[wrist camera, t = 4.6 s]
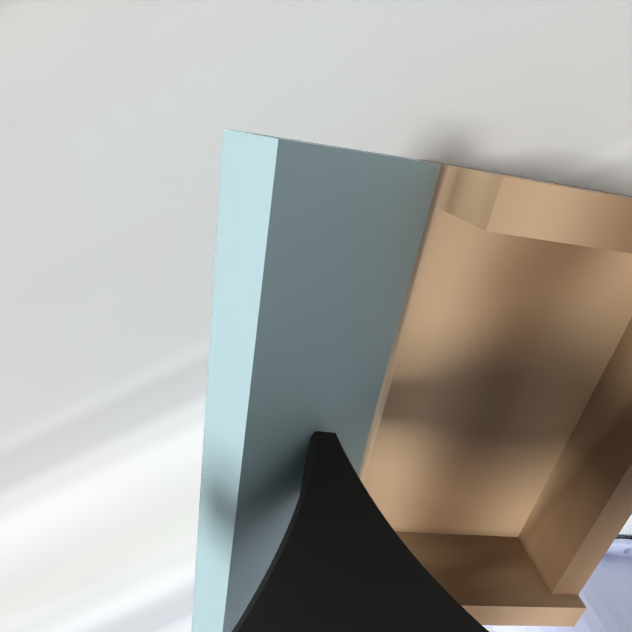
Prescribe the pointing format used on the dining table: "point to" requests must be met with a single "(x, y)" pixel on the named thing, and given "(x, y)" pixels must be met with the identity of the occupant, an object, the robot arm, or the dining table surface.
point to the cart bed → (510, 395)
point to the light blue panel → (294, 337)
